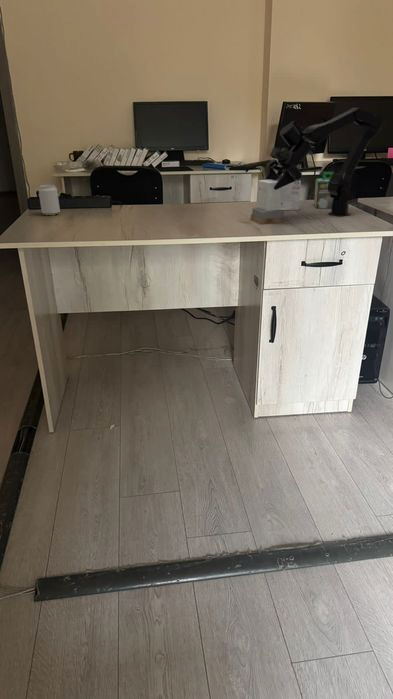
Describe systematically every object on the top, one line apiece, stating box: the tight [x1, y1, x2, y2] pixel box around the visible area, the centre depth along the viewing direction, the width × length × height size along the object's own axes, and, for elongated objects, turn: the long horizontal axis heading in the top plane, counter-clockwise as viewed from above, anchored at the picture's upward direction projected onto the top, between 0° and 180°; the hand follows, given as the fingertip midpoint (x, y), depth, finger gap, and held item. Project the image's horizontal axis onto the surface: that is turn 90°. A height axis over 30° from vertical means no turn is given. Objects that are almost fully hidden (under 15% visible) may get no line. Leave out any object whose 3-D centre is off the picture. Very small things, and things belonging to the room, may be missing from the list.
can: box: [38, 184, 61, 214], centre depth 213 cm, size 8×8×12 cm
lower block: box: [250, 214, 283, 225], centre depth 197 cm, size 9×9×2 cm
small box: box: [256, 179, 281, 211], centre depth 193 cm, size 8×6×10 cm
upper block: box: [251, 207, 285, 219], centre depth 196 cm, size 9×9×2 cm
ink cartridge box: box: [276, 178, 302, 211], centre depth 216 cm, size 10×6×14 cm, turn 87°
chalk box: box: [313, 171, 335, 209], centre depth 220 cm, size 9×9×15 cm
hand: (268, 187), depth 191 cm, fingers open, 9 cm apart
